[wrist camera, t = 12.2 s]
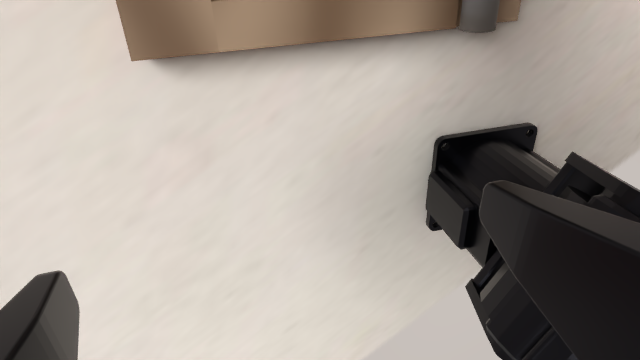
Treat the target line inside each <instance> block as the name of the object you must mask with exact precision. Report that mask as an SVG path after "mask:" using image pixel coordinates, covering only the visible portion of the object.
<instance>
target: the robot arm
mask: <svg viewBox="0 0 640 360" xmlns="http://www.w3.org/2000/svg"><path fill="white" fill-rule="evenodd" d="M528 130H529V132H528V133H527V131H528ZM526 133H527V134H526ZM536 135H537V127H536V126H534V125H532V124H531V123H523V124H517V125H510V126H504V127H497V128H491V129H484V130H478V131H471V132H465V133H458V134H452V135H445V136H441V137H439V138H438V139H437V140H436V141H435V144H434V152H433V161H432V171H431V173H430V175H429V180H428V190H427V199H426V210H427V218H426V225H427V226H428V227H429V229H430V230H432V231H437V230H442V229H443V230H444V231H445V233H446V234H447V235H448V236H449V237H450V239H451V240H452V241H453V242H454V243H455V245H456V246H457V247H459V248H460V249H467V250H468V251H469V252H470V253H471V255H472V256H473V257H474V258H475V259H476V260H477V262H478V263H479V264H480V265H481V266H482V267H483V268H482V269H481V270H480V272H479V273H478V274H477V275H476V277H475V278H474V279H471V280H470V281H469V282H468V284H467V285H466V286H465V287H466V289H467V292H468V294H469V296H470V299H471V301H472V303H473V305H474V308H475V310H476V312H477V315H478V317H479V319H480V322H481V324H482V326H483V328H484V331H485V333H486V335H487V337H488V340H489V341H490V343H491V345H492V348H493V350H494V352H495V353H496V355H497V356H499V357H500V358H501V359H502V360H640V190H638V189H637V188H635V187H633V186H632V185H630V184H628V183H626V182H625V181H623V180H621V179H619V178H617V177H616V176H614V175H612V174H611V173H609V172H607V171H605V170H604V169H602V168H600V167H598V166H597V165H595V164H593V163H591V162H590V161H588V160H586V159H584V158H583V157H581V156H579V155H577V154H576V153H574V152H572V153H571V154H570V155H569V156H568V158H567V159H566V160H565V161H566V164H565V165H564V166H563V167H562V169H561V170H560V169H559V168H557V167H556V166H554V165H553V164H551V163H550V162H548V161H547V160H545V159H544V158H542V157H541V156H539V155H538V154H536V153H535V152H533V148H534V143H535V139H536ZM444 143H446V145H445V146H444V147H442V145H443V144H444ZM441 147H442V148H441ZM434 222H436V223H434ZM433 223H434V224H433ZM78 336H79V304H78V301H77V299H76V296H75V294H74V292H73V290H72V288H71V285H70V283H69V281H68V279H67V277H66V275H65V274H64V273H63V272H62V271H53V272H48V273H43V274H39V275H37V276H35V277H34V278H33V279H32V280H31V281H30V282H29V283H28V284H27V285H26V286H25V287H24V288H23V289H22V290H21V291H19V292H18V293H17V294H16V295H15V296H14V297H13V298H12V299H11V300H10V301H9V302H8V303H7V304H6V305H5V306H4V307H3V308H2V309H1V310H0V360H77V359H78Z"/></svg>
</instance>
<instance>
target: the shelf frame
mask: <svg viewBox="0 0 640 360" xmlns="http://www.w3.org/2000/svg"><path fill="white" fill-rule="evenodd" d="M116 3H117V7H118V11H119V14H120V18H121V22H122V26H123V30H124V34H125V38H126V41H127V45H128V49H129V53H130V57H131V61H138V60H148V59H158V58H168V57H178V56H187V55H197V54H207V53H217V52H227V51H237V50H247V49H256V48H266V47H276V46H286V45H296V44H306V43H315V42H325V41H335V40H345V39H355V38H365V37H374V36H384V35H394V34H404V33H414V32H424V31H433V30H443V29H453V28H456V27H457V26H459V29H460V30H462V31H466V32H474V33H484V32H492V31H494V30H495V28H496V23H497V22H507V21H517V19H518V14H519V9H520V3H521V0H116Z"/></svg>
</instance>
